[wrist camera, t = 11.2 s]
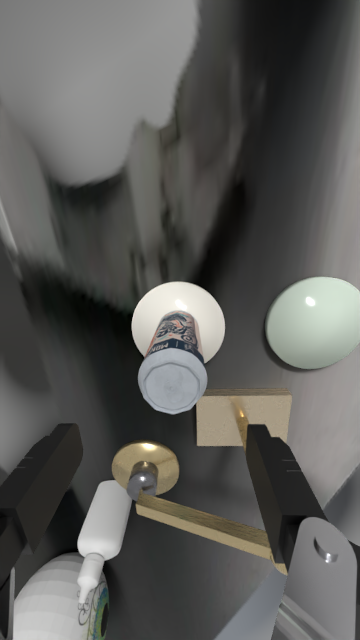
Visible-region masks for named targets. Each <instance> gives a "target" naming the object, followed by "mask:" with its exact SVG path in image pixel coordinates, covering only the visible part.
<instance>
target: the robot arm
mask: <svg viewBox="0 0 360 640" xmlns="http://www.w3.org/2000/svg"><path fill="white" fill-rule="evenodd" d="M82 456H83V446H82V441H81V437H80V432H79V427H78V425H77V424H58V425H57V427H56V428H55V429H54V430H53V431H52V433H51V434H50V436H45V437H44V438H42V439H41V440H40V441H39V442H37V443H36V444H35V445H34V446H33V447H32V448H31V449H30V451H29V452H28V453H27V454H26V455H25V458H24V459H22V460H21V462H20V463H19V464H18V465H17V468H16V469H14V470H13V472H12V473H11V474H10V475H9V476H8V478H7V479H6V480H5V481H4V483H3V484H2V485H1V486H0V640H13V622H14V585H15V568H14V565H15V563H16V561H17V560H18V558H19V556H20V554H24V555H33V554H34V552H35V550H36V548H37V546H38V544H39V542H40V540H41V538H42V536H43V534H44V532H45V530H46V528H47V527H48V525H49V523H50V521H51V519H52V517H53V515H54V513H55V511H56V509H57V507H58V505H59V503H60V501H61V499H62V498H63V496H64V494H65V492H66V490H67V488H68V486H69V484H70V482H71V480H72V478H73V476H74V474H75V472H76V470H77V468H78V467H79V465H80V462H81V460H82ZM246 460H247V465H248V469H249V472H250V476H251V479H252V483H253V487H254V490H255V494H256V497H257V501H258V505H259V508H260V512H261V515H262V519H263V523H264V526H265V530H266V533H267V537H268V541H269V544H270V548H271V551H272V555H273V559H274V562H275V563H277V564H285V567H286V570H287V573H288V576H287V580H286V584H285V589H284V593H283V597H282V601H281V604H280V606H279V610H278V614H277V618H276V622H275V626H274V630H273V634H272V638H271V640H360V546H357V545H355V544H354V543H352V542H350V541H349V540H347V539H346V537H345V536H344V535H343V534H342V533H341V532H340V531H339V530H338V529H337V528H336V527H335V526H333V525H332V524H330V522H329V521H328V520H327V518H326V516H325V515H324V513H323V511H322V509H321V507H320V505H319V503H318V501H317V499H316V497H315V495H314V494H313V492H312V490H311V488H310V486H309V484H308V482H307V480H306V478H305V476H304V474H303V472H301V468H300V467H299V465H298V463H297V462H296V459H295V457H294V455H293V453H292V451H291V449H290V447H289V446H288V445H287V444H286V443H285V442H284V441H283V440H282V439H281V438H280V437H271V435H270V433H269V430H268V428H267V426H266V425H265V424H248V426H247V438H246Z"/></svg>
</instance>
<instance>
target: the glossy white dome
mask: <svg viewBox="0 0 360 640" xmlns="http://www.w3.org/2000/svg"><path fill="white" fill-rule="evenodd" d="M176 310H181V311H185V312H188V313H189V314H191V315H192V316H193V317H194V318H195V319H196V321H197V323H198V326H199V333H200V339H201V345H202V351H203V357H204V363H206V362H208V361H209V360H210V359H211V358H212V357H213V356H214V355H215V354H216V352H217V351H218V350H219V348H220V346H221V344H222V341H223V338H224V333H225V322H224V316H223V313H222V311H221V309H220V307H219V305H218V303H217V302H216V300H215V299H214V298H213V297H212V295H211V294H210V293H208V292H207V291H206V290H205V289H203V288H201V287H200V286H197V285H195V284H192V283H189V282H183V281H174V282H168V283H164V284H161V285H159V286H157V287H155V288H153V289H152V290H151V291H149V292H148V293H147V294H146V295H145V296H144V297H143V298H142V299H141V300H140V302H139V303H138V305H137V307H136V309H135V311H134V314H133V318H132V334H133V338H134V341H135V343H136V346H137V347H138V349H139V351H140V352H141V353H142V354H143V356H144V357H145V355H146V353H147V351H148V348H149V346H150V343H151V341H152V339H153V336H154V334H155V331H156V329H157V327H158V324H159V322H160V320H161V318H162V317H163V316H164V315H165V314H167V313H169V312H171V311H176Z"/></svg>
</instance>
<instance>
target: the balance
mask: <svg viewBox="0 0 360 640" xmlns="http://www.w3.org/2000/svg"><path fill="white" fill-rule="evenodd" d="M291 400H292V395H291V393H290V392H289V391H288V389H287V388H275V389H205V392H204V394H203V395H202V397H201V398H200V399H199V400H198V401H197V402H196V419H197V446H243V448H244V451H245V455H246V438H247V426H248V424H265V425H266V426H267V428H268V430H269V433H270V435H271V437H280V438H281V439H282V440H283V441H284V442H285V443H286V440H287V432H288V424H289V416H290V408H291ZM112 473H113V476H114V478H115V480H116V481H117V482H118V484H119V485H120V486H122V487H123V488H124V489H126V490H127V494H128V496H129V497H130V498H131V499H133V500H135V501H137V502H136V510H137V514H139V515H142V516H145V517H148V518H151V519H154V520H157V521H160V522H163V523H165V524H168V525H171V526H174V527H177V528H180V529H183V530H186V531H189V532H191V533H194V534H197V535H200V536H203V537H206V538H209V539H212V540H215V541H217V542H220V543H223V544H226V545H229V546H232V547H235V548H238V549H241V550H243V551H246V552H249V553H252V554H255V555H258V556H261V557H264V558H267V559H269V560H271V561H272V563H273V564H274V566H275V567H276V568H277V569H278V570H279V571H280V572H281V573H283V574H285V575H288V573H287V570H286V567H285V564H277V563H275V562H274V559H273V555H272V551H271V548H270V544H269V541H268V537H267V533H266V531H263V530H260V529H256V528H253V527H250V526H247V525H244V524H240V523H237V522H234V521H231V520H228V519H224V518H221V517H218V516H215V515H212V514H208V513H205V512H202V511H199V510H196V509H192V508H189V507H186V506H183V505H180V504H176V503H173V502H170V501H167V500H164V499H160V498H157V497H155V495H159V494H162V493H165V492H167V491H168V490H170V489H171V488H172V487H173V486H174V485H175V484H176V482H177V480H178V476H179V462H178V459H177V457H176V455H175V454H174V453H173V451H172V450H171V449H169V448H168V447H167V446H165V445H163V444H162V443H159V442H156V441H153V440H135V441H131V442H129V443H127V444H125V445H123V446H122V447H121V448H120V449H119V450H118V451H117V453H116V455H115V457H114V460H113V463H112Z"/></svg>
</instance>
